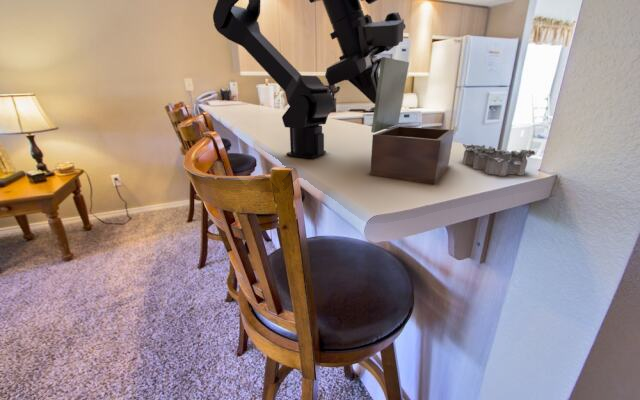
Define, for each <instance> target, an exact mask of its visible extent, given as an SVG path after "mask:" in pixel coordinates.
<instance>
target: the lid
mask: <svg viewBox="0 0 640 400" xmlns="http://www.w3.org/2000/svg"><path fill="white" fill-rule="evenodd" d="M381 58H382V59H381V66H380V68H379V80H378V87H377V94H376V101H375V104H374V110H373V116H372V123H371V130H370V132H371V133H374V134H376V133H379V132H382V131H384V130H387V129H390V128H393V127H396V126H398V125H399V122H400V117H401V111H402V105H403V100H404V93H405V89H406V83H407V76H408V71H409V65H410V62H409V61H405V60H400V59H395V58H390V57H385V56H382V57H381Z"/></svg>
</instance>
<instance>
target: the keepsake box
mask: <svg viewBox="0 0 640 400" xmlns="http://www.w3.org/2000/svg"><path fill="white" fill-rule="evenodd" d="M454 133H455V129H450V128H449V129H448V128H433V127H421V126H420V127H419V126H418V127H417V126H403V125H395V126H392V127H389V128H387V129H384V130H381V131H378V132H376V133H374V134H372V142H371V156H370V157H371V158H370V174H369V175H370V176H376V177H383V178H389V179H395V180H401V181H402V180H403V181H409V182H415V183H420V184H428V185H435V184H436V183H437V182H438V181H439V179H440V178H441V177H442V176H443V174H444V173H445V171H446V170H447V169H448V167H449V166H450V165H449V164H450V159H451V151H452V144H453V141H454V140H453V139H454V135H455V134H454Z"/></svg>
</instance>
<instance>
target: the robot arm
mask: <svg viewBox="0 0 640 400" xmlns="http://www.w3.org/2000/svg"><path fill="white" fill-rule="evenodd" d="M239 1H240V0H217V2H216V4H215V7H214V10H213V13H212V20H213V26H214V29H215V30H216V32H218V33H219V34H220V35H221V36H223V37H224V38H226V39H227V40H229V41H230V42H233V43H235V44H236V45H239V46H241V47H242V48H244V50H245V51H246V52H247V53H248V54H249V55H250V56H251V57H252V59H254V61H256V63H258V65H259V66H260V67H261V68H262V69H263V70H264V71H265V72H266V73H267V74H268V75H269V76H270V77H271V78H272V79H273V81H274V82H275V83H276V84H277V85H278V86H279V87H280V88H281V89H282V90H283V92H284V94H285V98H286V102H287V105H288V108H287V110H286V111H285V112H284V113H283V115H282V116H281V119H282V123H283V126H284V128H288V129H289V143H290V145H289V146H290V151H288V152H285V153H286V154H285V155H286V156H288V157H295V158H301V159H302V158H303V159H309V160H310V159H314V158H317V157H319V156H322V155H325V154H326V153H327V150H325V134H324V133H323V125H326V124H327V122H328V121H327V120H328V117H329V116H330V114H331V113H332V110H333V107H334V98H333V95H332V94H331V92H329V91H330V90H331V88H330V87H332V86H334V85H336V84H339V83H342V82H343V81H348V82H349V83H350V84H351V85H353V86H354V87H355V88H357V89H358V91H360V92H361V94H363V95H364V96H365V97H366V98H367V99H368V100H369V101H370V102H371V103H372V104H374V105H375V101H376V94H377V87H378V80H379V73H380V66H381V59H382V57H379V58H378V56H377V55H380V54H382V53H384V52H388V51H391V50H392V49H393V48H394V47H398V46H399V45H400V43H402V42H404V30H406V28H407V27H406V23H405V19H404V18H402V17H401V15H400V13H399V12H398V11H397V12H396V11H395V12H389V13H387V15H386V17H385V19H384V20H380V21H373V18H372V16H371V15H370V14H369V13H367V14H365V13H364V11H363V8H362V5H361V2H364V1H365V2H366V4H368V5H372V4H374V3H376V2H377V1H378V0H308V1H309V3H311V4H312V3H317V2H320V1H321V2H322V4H323V7H324V9H325V12H326V14H327V17H328V20H329V22H330V25H331V27H332V32H331V33H329V36H330V38H331V40H335V39H336V40H337V43H338V46H339V48H340V49H339V50H340V52H341V54H342V55H341V56H339V57H338V58H339V60H338V61H336V62H335V63H333V64H331V65H330V66H328V67H327V68H326V71H325V73H324V77H325V79H326V81H327V84H328V86H326V85H325V84H324V83H323V81H322V80H321V79H320V78H319V77H318V76H317V75H302V74H301V73H300V72H299V71H298V70H297V69H296V67H294V65H293V64H291V62H290V61H289V60H288V59H287V58H286V57H285V56H284V55H282V53H281V52H280V51H279V50H278V49H277V48H276V47H275V46H274V45H273V44H272V43H271V42H270V41H269V40H268V39H267V38H266V37H265V35H264V34H262V32H261V29H260V24H259V21H258V19H259V17H260V15H261V0H248V3H247V6H246V8H245V7H242V6H237V5H236V4H237V3H238V2H239Z"/></svg>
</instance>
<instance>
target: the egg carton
mask: <svg viewBox="0 0 640 400" xmlns="http://www.w3.org/2000/svg"><path fill="white" fill-rule="evenodd" d="M462 146H463V147H464V149H465V150H463V151H464V152H463V156H462V161H461V162H462V164H463V165H469V166H470V165H471V166H472V168H473V169H475V170H484V171H485V172H484V173H485V174H487V175H492V176H493V175H495V176H499V177H503V176H504V177H505V176H507V174H508V175H509V174H510V175H511V174H512V175H517V176H524V175H525V172H526V167H527V165H528V158H530V157H532V156H534V155H535V154H536V152H535V150H531V149H521V150H520V151H517V150H511V151H509V150H502V149H497V150H496V147H492V146H489V147H488V148H487V147H486V145H485V144H482V145H477V144H476V145H474V144H465V143H462Z"/></svg>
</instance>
